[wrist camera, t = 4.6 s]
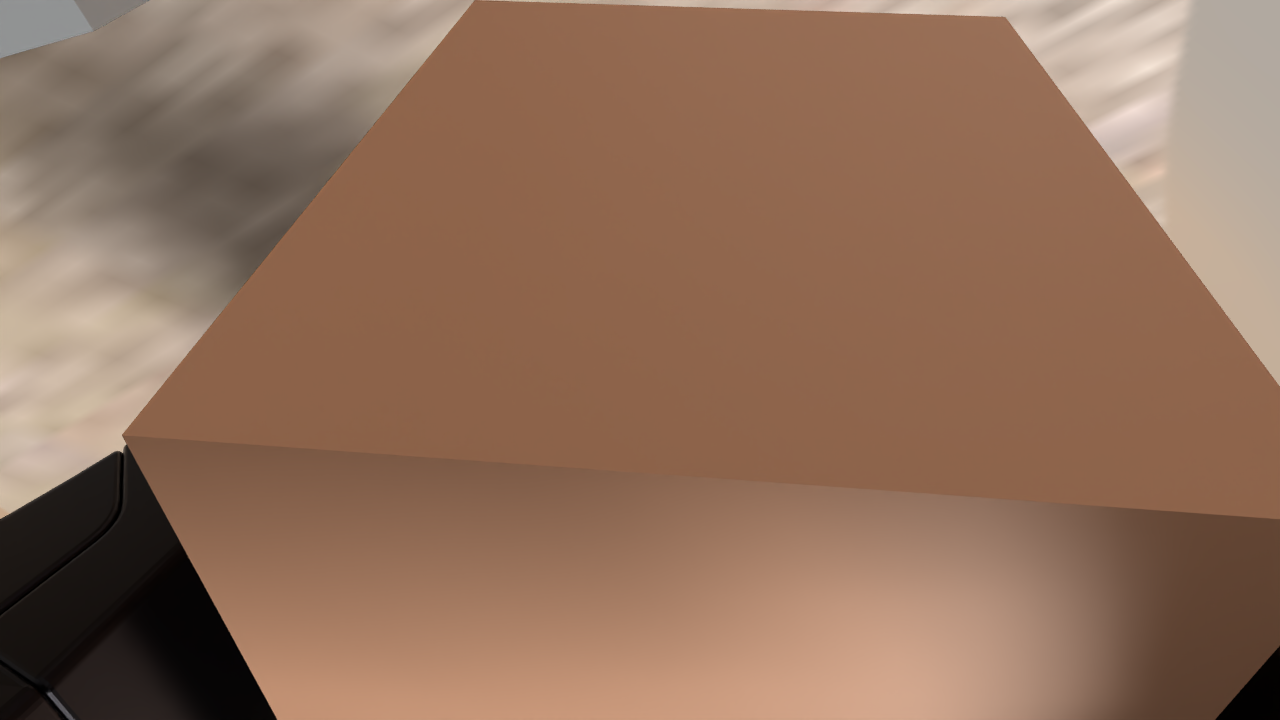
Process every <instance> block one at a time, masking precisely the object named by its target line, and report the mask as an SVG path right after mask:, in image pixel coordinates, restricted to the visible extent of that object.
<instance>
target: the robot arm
mask: <svg viewBox="0 0 1280 720" xmlns="http://www.w3.org/2000/svg"><path fill="white" fill-rule="evenodd" d="M0 720H277V718H276V716H275V714H274V712H273V711H272V709H271V707H270V705H269V703H268V701H267V700H266V698H265V696H264V694H263V692H262V691H261V689H260V687H259V685H258V683H257V681H256V680H255V678H254V676H253V674H252V672H251V670H250V669H249V667H248V665H247V663H246V661H245V659H244V658H243V656H242V654H241V652H240V650H239V648H238V647H237V645H236V643H235V641H234V639H233V637H232V636H231V634H230V632H229V630H228V628H227V626H226V625H225V623H224V621H223V619H222V617H221V615H220V614H219V612H218V610H217V608H216V606H215V605H214V603H213V601H212V599H211V597H210V595H209V594H208V592H207V590H206V588H205V586H204V584H203V583H202V581H201V579H200V577H199V575H198V573H197V572H196V570H195V568H194V566H193V564H192V562H191V561H190V559H189V557H188V555H187V553H186V551H185V550H184V548H183V546H182V544H181V542H180V540H179V539H178V537H177V535H176V533H175V531H174V530H173V528H172V526H171V524H170V522H169V520H168V519H167V517H166V515H165V513H164V511H163V509H162V508H161V506H160V504H159V502H158V500H157V498H156V497H155V495H154V493H153V491H152V489H151V487H150V486H149V484H148V482H147V480H146V478H145V476H144V475H143V473H142V471H141V469H140V467H139V465H138V464H137V462H136V460H135V458H134V456H133V454H132V453H131V451H130V449H129V447H128V445H126V446H125V447H124V449H123V453H122V452H120V451H115V452H113V453H111V454H110V455H108V456H107V457H105V458H103V459H102V460H100V461H99V462H97V463H95V464H94V465H92V466H90V467H89V468H87V469H85V470H84V471H82V472H80V473H79V474H77V475H75V476H74V477H72V478H70V479H69V480H67V481H65V482H64V483H62V484H60V485H58V486H57V487H55V488H53V489H52V490H50V491H48V492H46V493H45V494H43V495H41V496H40V497H38V498H36V499H34V500H33V501H31V502H29V503H28V504H26V505H24V506H22V507H21V508H19V509H17V510H16V511H14V512H12V513H10V514H9V515H7V516H5V517H3V518H2V519H0ZM1215 720H1280V646H1279V647H1278V648H1277V649H1276V650H1275V652H1274V653H1273V654H1272V655H1271V656H1270V657H1269V658H1268V660H1267V661H1266V662H1265V663H1264V664H1263V665H1262V666H1261V668H1260V669H1259V670H1258V671H1257V672H1256V673H1255V674H1254V676H1253V677H1252V678H1251V679H1250V680H1249V681H1248V682H1247V684H1246V685H1245V686H1244V687H1243V688H1242V689H1241V690H1240V692H1239V693H1238V694H1237V695H1236V696H1235V697H1234V698H1233V700H1232V701H1231V702H1230V703H1229V704H1228V705H1227V706H1226V708H1225V709H1224V710H1223V711H1222V712H1221V713H1220V714H1219V716H1218V717H1217V718H1216V719H1215Z"/></svg>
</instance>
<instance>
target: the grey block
mask: <svg viewBox="0 0 1280 720" xmlns="http://www.w3.org/2000/svg"><path fill="white" fill-rule="evenodd" d="M147 1H149V0H0V58H2V57H6V56H9V55H13V54H16V53H20V52H23V51H27V50H30V49H34V48H37V47H41V46H44V45H47V44H51V43H54V42H58V41H61V40H65V39H68V38H72V37H75V36H79V35H82V34H86V33H89V32H92V31H95V30H97V29H99V28H100V27H102V26H104V25H106V24H108V23H109V22H111V21H113V20H115V19H117V18H118V17H120V16H122V15H124V14H126V13H127V12H129V11H131V10H133V9H135V8H137V7H138V6H140V5H142V4H144V3H146V2H147Z"/></svg>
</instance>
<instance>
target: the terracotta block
mask: <svg viewBox="0 0 1280 720" xmlns="http://www.w3.org/2000/svg"><path fill="white" fill-rule="evenodd" d="M122 436H123V438H124V440H125V442H126V444H127V445H128V447H129V449H130V451H131V453H132V454H133V456H134V458H135V460H136V462H137V464H138V465H139V467H140V469H141V471H142V473H143V475H144V476H145V478H146V480H147V482H148V484H149V486H150V487H151V489H152V491H153V493H154V495H155V497H156V498H157V500H158V502H159V504H160V506H161V508H162V509H163V511H164V513H165V515H166V517H167V519H168V520H169V522H170V524H171V526H172V528H173V530H174V531H175V533H176V535H177V537H178V539H179V540H180V542H181V544H182V546H183V548H184V550H185V551H186V553H187V555H188V557H189V559H190V561H191V562H192V564H193V566H194V568H195V570H196V572H197V573H198V575H199V577H200V579H201V581H202V583H203V584H204V586H205V588H206V590H207V592H208V594H209V595H210V597H211V599H212V601H213V603H214V605H215V606H216V608H217V610H218V612H219V614H220V615H221V617H222V619H223V621H224V623H225V625H226V626H227V628H228V630H229V632H230V634H231V636H232V637H233V639H234V641H235V643H236V645H237V647H238V648H239V650H240V652H241V654H242V656H243V658H244V659H245V661H246V663H247V665H248V667H249V669H250V670H251V672H252V674H253V676H254V678H255V680H256V681H257V683H258V685H259V687H260V689H261V691H262V692H263V694H264V696H265V698H266V700H267V701H268V703H269V705H270V707H271V709H272V711H273V712H274V714H275V716H276V718H277V720H1215V719H1216V718H1217V717H1218V716H1219V714H1220V713H1221V712H1222V711H1223V710H1224V709H1225V708H1226V706H1227V705H1228V704H1229V703H1230V702H1231V701H1232V700H1233V698H1234V697H1235V696H1236V695H1237V694H1238V693H1239V692H1240V690H1241V689H1242V688H1243V687H1244V686H1245V685H1246V684H1247V682H1248V681H1249V680H1250V679H1251V678H1252V677H1253V676H1254V674H1255V673H1256V672H1257V671H1258V670H1259V669H1260V668H1261V666H1262V665H1263V664H1264V663H1265V662H1266V661H1267V660H1268V658H1269V657H1270V656H1271V655H1272V654H1273V653H1274V652H1275V650H1276V649H1277V648H1278V647H1279V646H1280V386H1279V385H1278V384H1277V382H1276V381H1275V380H1274V378H1273V377H1272V376H1271V374H1270V373H1269V372H1268V370H1267V369H1266V367H1265V366H1264V365H1263V364H1262V362H1261V361H1260V359H1259V358H1258V357H1257V355H1256V354H1255V353H1254V351H1253V350H1252V349H1251V347H1250V346H1249V345H1248V343H1247V342H1246V341H1245V339H1244V338H1243V337H1242V335H1241V334H1240V333H1239V331H1238V330H1237V328H1236V327H1235V326H1234V325H1233V323H1232V322H1231V320H1230V319H1229V318H1228V316H1227V315H1226V314H1225V312H1224V311H1223V310H1222V308H1221V307H1220V306H1219V304H1218V303H1217V302H1216V300H1215V299H1214V298H1213V296H1212V295H1211V294H1210V292H1209V291H1208V289H1207V288H1206V287H1205V285H1204V284H1203V283H1202V281H1201V280H1200V279H1199V277H1198V276H1197V275H1196V273H1195V272H1194V271H1193V269H1192V268H1191V267H1190V265H1189V264H1188V262H1187V261H1186V260H1185V258H1184V257H1183V256H1182V254H1181V253H1180V252H1179V250H1178V249H1177V248H1176V246H1175V245H1174V244H1173V242H1172V241H1171V240H1170V238H1169V237H1168V236H1167V234H1166V233H1165V232H1164V230H1163V229H1162V227H1161V226H1160V225H1159V223H1158V222H1157V221H1156V219H1155V218H1154V217H1153V215H1152V214H1151V213H1150V211H1149V210H1148V209H1147V207H1146V206H1145V205H1144V203H1143V202H1142V201H1141V199H1140V198H1139V197H1138V195H1137V194H1136V192H1135V191H1134V190H1133V188H1132V187H1131V186H1130V184H1129V183H1128V182H1127V180H1126V179H1125V178H1124V176H1123V175H1122V174H1121V172H1120V171H1119V170H1118V168H1117V167H1116V166H1115V164H1114V163H1113V161H1112V160H1111V159H1110V157H1109V156H1108V155H1107V153H1106V152H1105V151H1104V149H1103V148H1102V147H1101V145H1100V144H1099V143H1098V141H1097V140H1096V139H1095V137H1094V136H1093V135H1092V133H1091V132H1090V131H1089V129H1088V128H1087V126H1086V125H1085V124H1084V122H1083V121H1082V120H1081V118H1080V117H1079V116H1078V114H1077V113H1076V112H1075V110H1074V109H1073V108H1072V106H1071V105H1070V104H1069V102H1068V101H1067V100H1066V98H1065V97H1064V96H1063V94H1062V93H1061V91H1060V90H1059V89H1058V87H1057V86H1056V85H1055V83H1054V82H1053V81H1052V79H1051V78H1050V77H1049V75H1048V74H1047V73H1046V71H1045V70H1044V69H1043V67H1042V66H1041V65H1040V63H1039V62H1038V61H1037V59H1036V58H1035V56H1034V55H1033V54H1032V52H1031V51H1030V50H1029V48H1028V47H1027V46H1026V44H1025V43H1024V42H1023V40H1022V39H1021V38H1020V36H1019V35H1018V34H1017V32H1016V31H1015V30H1014V28H1013V27H1012V26H1011V24H1010V23H1009V21H1008V20H1007V19H1006V17H987V16H955V15H923V14H892V13H860V12H828V11H797V10H765V9H733V8H702V7H670V6H639V5H607V4H575V3H544V2H512V1H480V0H475V1H474V2H473V3H472V4H471V6H470V7H469V8H468V9H467V11H466V12H465V13H464V14H463V16H462V17H461V18H460V19H459V20H458V22H457V23H456V24H455V25H454V27H453V28H452V29H451V30H450V32H449V33H448V34H447V35H446V37H445V38H444V39H443V40H442V41H441V43H440V44H439V45H438V46H437V48H436V49H435V50H434V51H433V53H432V54H431V55H430V56H429V57H428V59H427V60H426V61H425V62H424V64H423V65H422V66H421V67H420V69H419V70H418V71H417V72H416V73H415V75H414V76H413V77H412V78H411V80H410V81H409V82H408V83H407V85H406V86H405V87H404V88H403V89H402V91H401V92H400V93H399V94H398V96H397V97H396V98H395V99H394V101H393V102H392V103H391V104H390V106H389V107H388V108H387V109H386V110H385V112H384V113H383V114H382V115H381V117H380V118H379V119H378V120H377V122H376V123H375V124H374V125H373V126H372V128H371V129H370V130H369V131H368V133H367V134H366V135H365V136H364V138H363V139H362V140H361V141H360V142H359V144H358V145H357V146H356V147H355V149H354V150H353V151H352V152H351V154H350V155H349V156H348V157H347V158H346V160H345V161H344V162H343V163H342V165H341V166H340V167H339V168H338V170H337V171H336V172H335V173H334V175H333V176H332V177H331V178H330V179H329V181H328V182H327V183H326V184H325V186H324V187H323V188H322V189H321V191H320V192H319V193H318V194H317V195H316V197H315V198H314V199H313V200H312V202H311V203H310V204H309V205H308V207H307V208H306V209H305V210H304V211H303V213H302V214H301V215H300V216H299V218H298V219H297V220H296V221H295V223H294V224H293V225H292V226H291V227H290V229H289V230H288V231H287V232H286V234H285V235H284V236H283V237H282V239H281V240H280V241H279V242H278V243H277V245H276V246H275V247H274V248H273V250H272V251H271V252H270V253H269V255H268V256H267V257H266V258H265V260H264V261H263V262H262V263H261V264H260V266H259V267H258V268H257V269H256V271H255V272H254V273H253V274H252V276H251V277H250V278H249V279H248V280H247V282H246V283H245V284H244V285H243V287H242V288H241V289H240V290H239V292H238V293H237V294H236V295H235V296H234V298H233V299H232V300H231V301H230V303H229V304H228V305H227V306H226V308H225V309H224V310H223V311H222V312H221V314H220V315H219V316H218V317H217V319H216V320H215V321H214V322H213V324H212V325H211V326H210V327H209V329H208V330H207V331H206V332H205V333H204V335H203V336H202V337H201V338H200V340H199V341H198V342H197V343H196V345H195V346H194V347H193V348H192V349H191V351H190V352H189V353H188V354H187V356H186V357H185V358H184V359H183V361H182V362H181V363H180V364H179V365H178V367H177V368H176V369H175V370H174V372H173V373H172V374H171V375H170V377H169V378H168V379H167V380H166V381H165V383H164V384H163V385H162V386H161V388H160V389H159V390H158V391H157V393H156V394H155V395H154V396H153V398H152V399H151V400H150V401H149V402H148V404H147V405H146V406H145V407H144V409H143V410H142V411H141V412H140V414H139V415H138V416H137V417H136V418H135V420H134V421H133V422H132V423H131V425H130V426H129V427H128V428H127V430H126V431H125V432H124V433H123V434H122Z"/></svg>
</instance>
